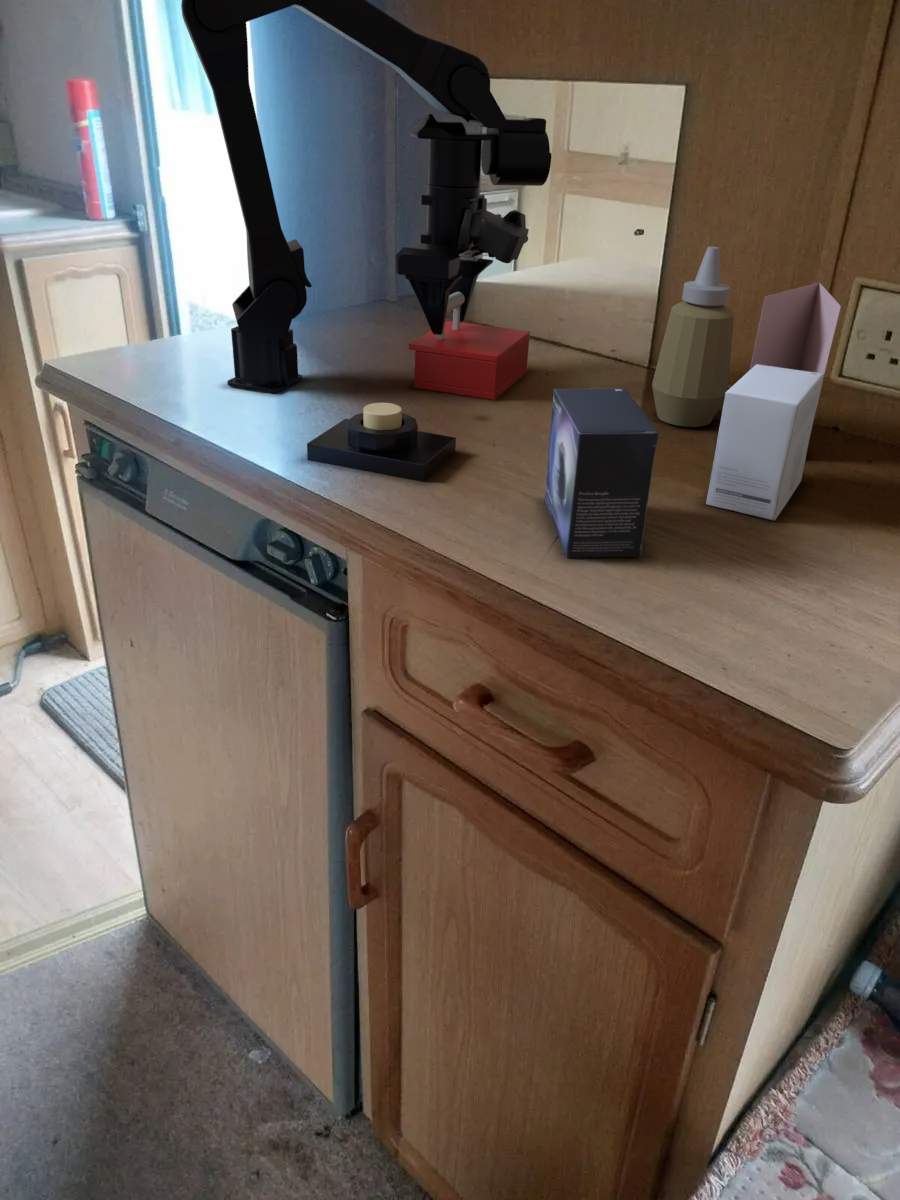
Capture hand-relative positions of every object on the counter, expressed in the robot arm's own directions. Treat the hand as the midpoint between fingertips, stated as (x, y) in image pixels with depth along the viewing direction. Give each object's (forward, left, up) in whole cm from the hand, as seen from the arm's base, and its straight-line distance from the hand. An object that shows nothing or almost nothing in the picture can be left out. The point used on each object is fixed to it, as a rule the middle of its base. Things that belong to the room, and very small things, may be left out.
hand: (448, 327), depth 109 cm
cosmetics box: (+38, -21, -6) cm, 44 cm away
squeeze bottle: (+29, -3, -6) cm, 30 cm away
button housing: (+4, -28, -6) cm, 29 cm away
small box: (+26, -35, -6) cm, 44 cm away
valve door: (+3, 0, -1) cm, 3 cm away
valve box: (+3, 0, -6) cm, 7 cm away
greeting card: (+40, -5, -6) cm, 41 cm away
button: (+4, -28, -3) cm, 28 cm away
